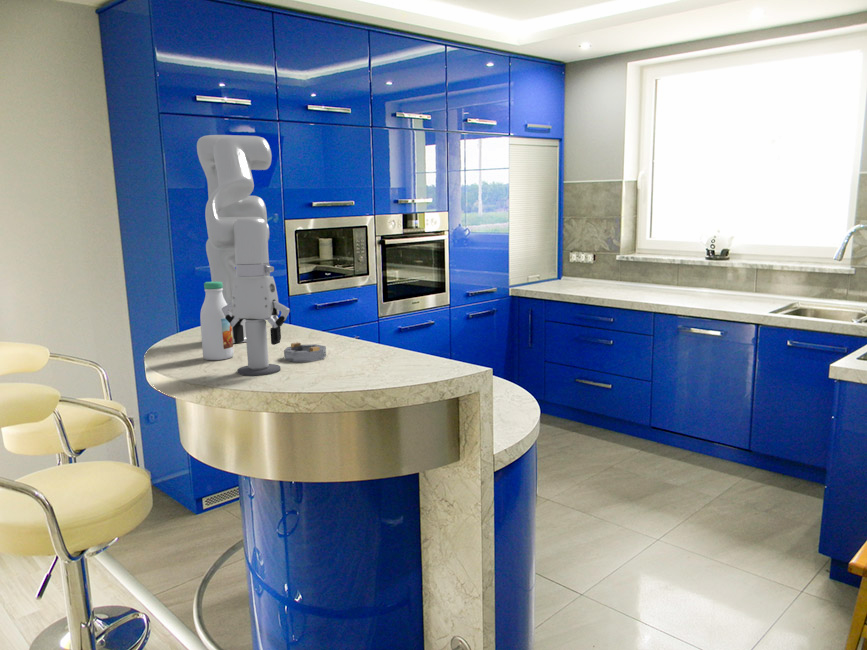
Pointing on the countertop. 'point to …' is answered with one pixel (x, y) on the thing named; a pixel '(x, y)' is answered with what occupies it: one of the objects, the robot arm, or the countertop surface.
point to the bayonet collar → (304, 352)
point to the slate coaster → (248, 372)
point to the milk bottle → (215, 324)
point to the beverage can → (256, 344)
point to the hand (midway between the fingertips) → (257, 343)
